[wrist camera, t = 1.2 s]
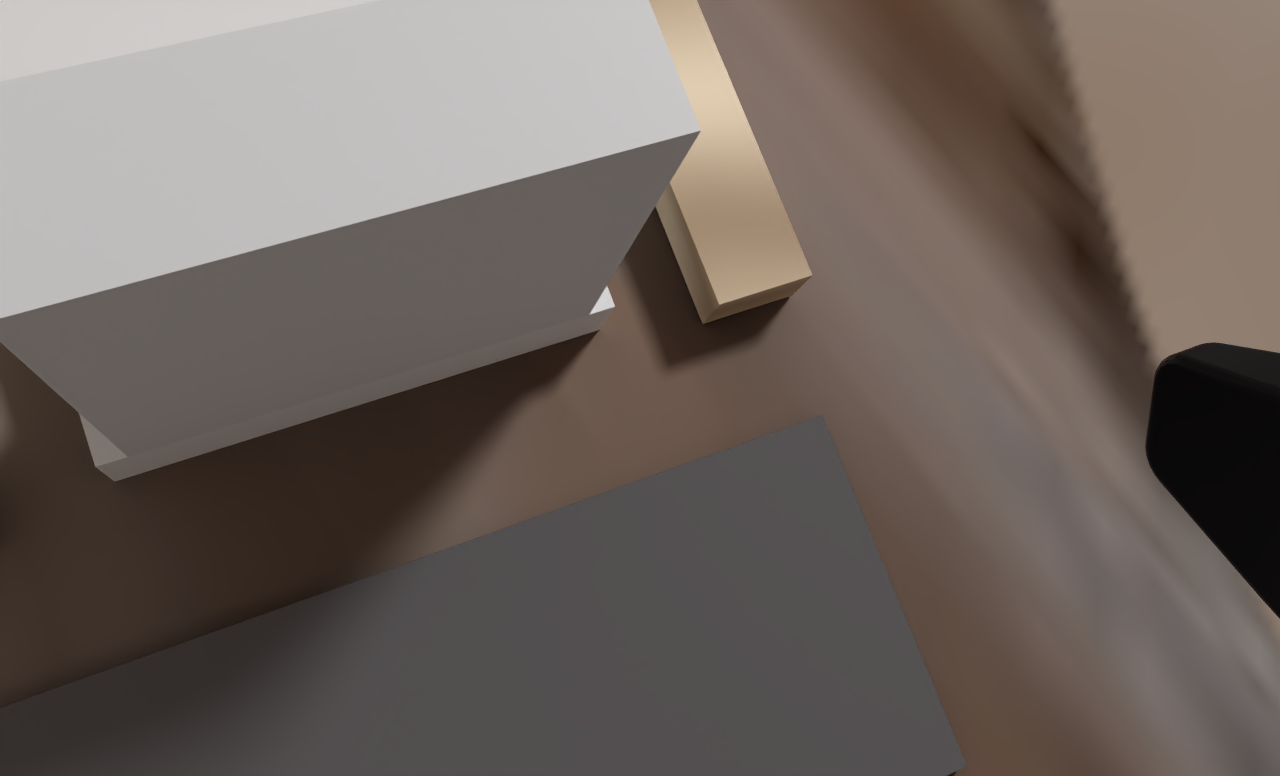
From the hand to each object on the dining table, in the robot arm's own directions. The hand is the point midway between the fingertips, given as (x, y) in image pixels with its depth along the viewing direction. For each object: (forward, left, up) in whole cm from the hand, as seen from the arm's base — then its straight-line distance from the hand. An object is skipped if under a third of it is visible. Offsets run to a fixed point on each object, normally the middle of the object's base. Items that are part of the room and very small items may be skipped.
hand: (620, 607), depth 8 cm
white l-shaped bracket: (+13, 0, -13) cm, 19 cm away
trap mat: (-1, 0, -13) cm, 13 cm away
